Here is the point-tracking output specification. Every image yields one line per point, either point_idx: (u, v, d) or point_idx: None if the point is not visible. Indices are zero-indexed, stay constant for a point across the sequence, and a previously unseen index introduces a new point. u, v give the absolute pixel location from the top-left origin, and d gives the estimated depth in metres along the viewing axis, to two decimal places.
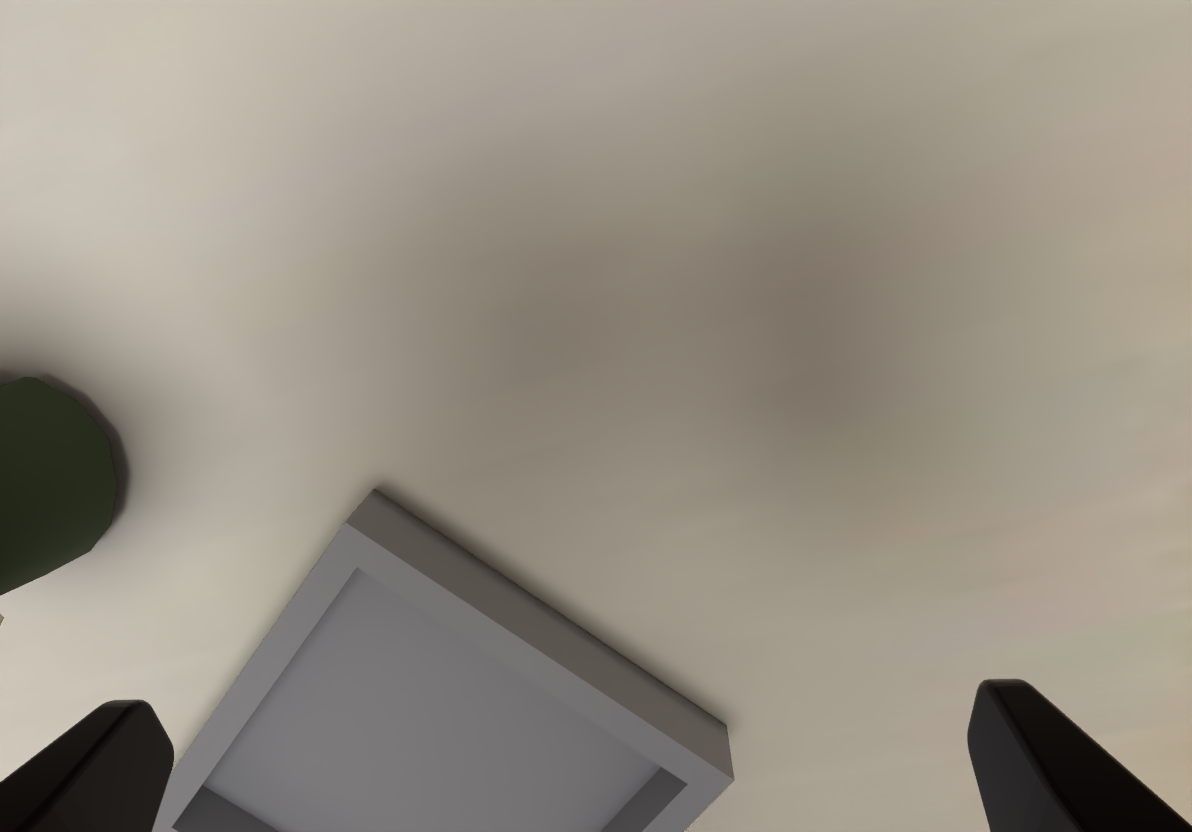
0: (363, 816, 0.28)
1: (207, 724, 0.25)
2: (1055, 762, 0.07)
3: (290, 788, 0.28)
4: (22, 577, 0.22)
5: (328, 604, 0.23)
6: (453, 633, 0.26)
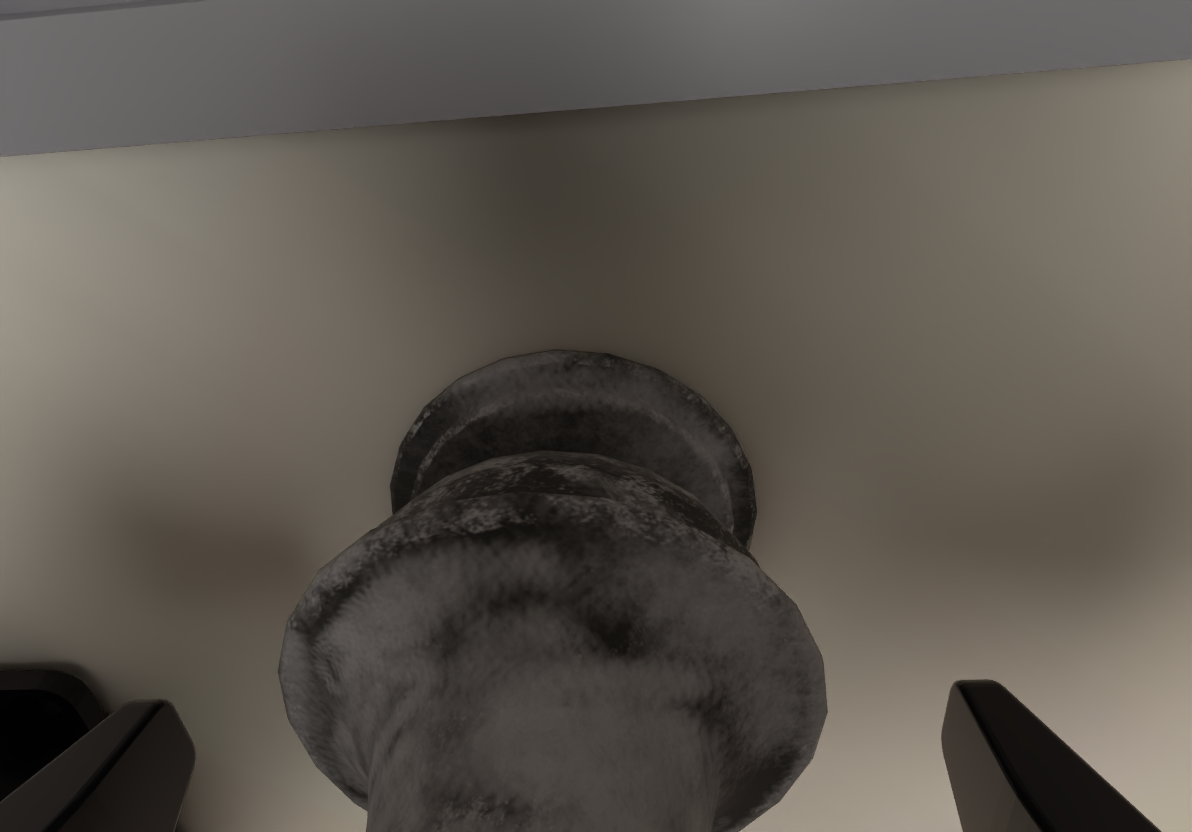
0: None
1: None
2: (1023, 763, 0.07)
3: None
4: None
5: None
6: None
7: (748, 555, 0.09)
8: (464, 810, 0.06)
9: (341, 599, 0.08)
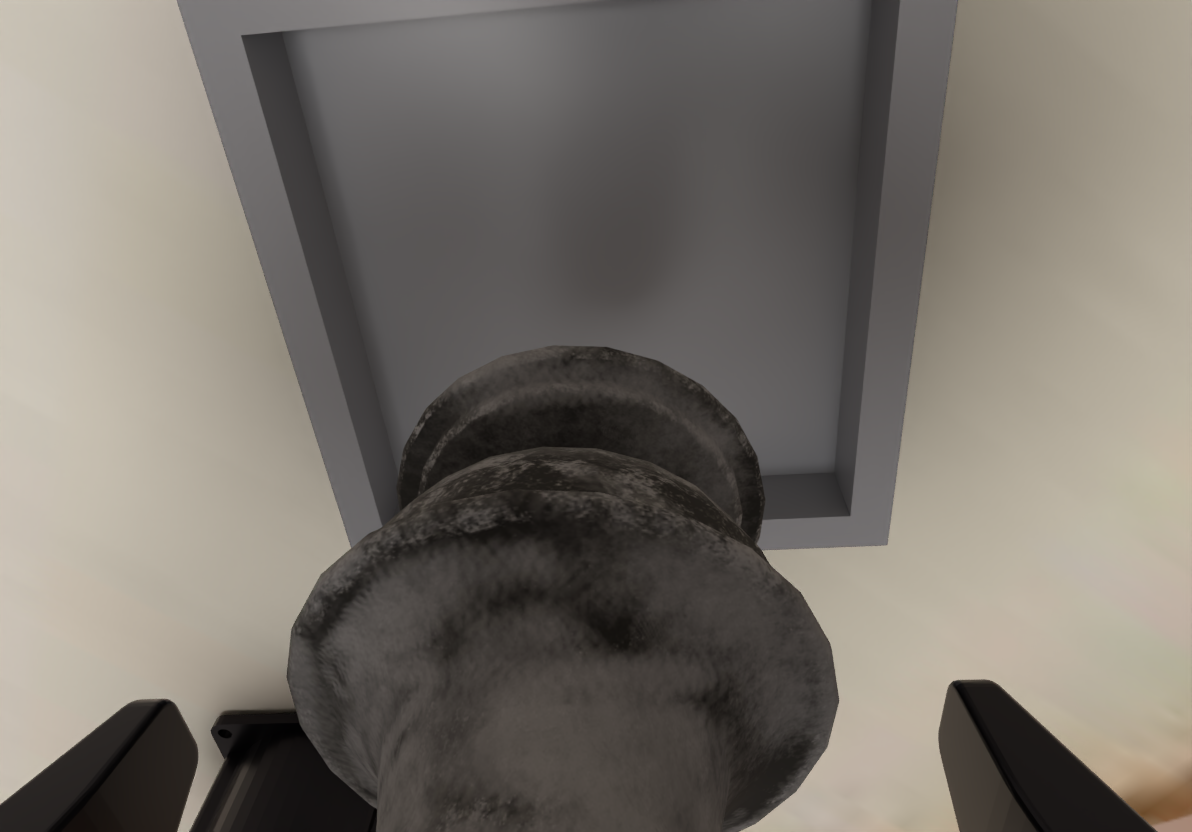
0: (444, 257, 0.19)
1: None
2: (1019, 763, 0.07)
3: (395, 144, 0.18)
4: None
5: None
6: (795, 166, 0.18)
7: (752, 544, 0.08)
8: (467, 810, 0.06)
9: (343, 603, 0.08)
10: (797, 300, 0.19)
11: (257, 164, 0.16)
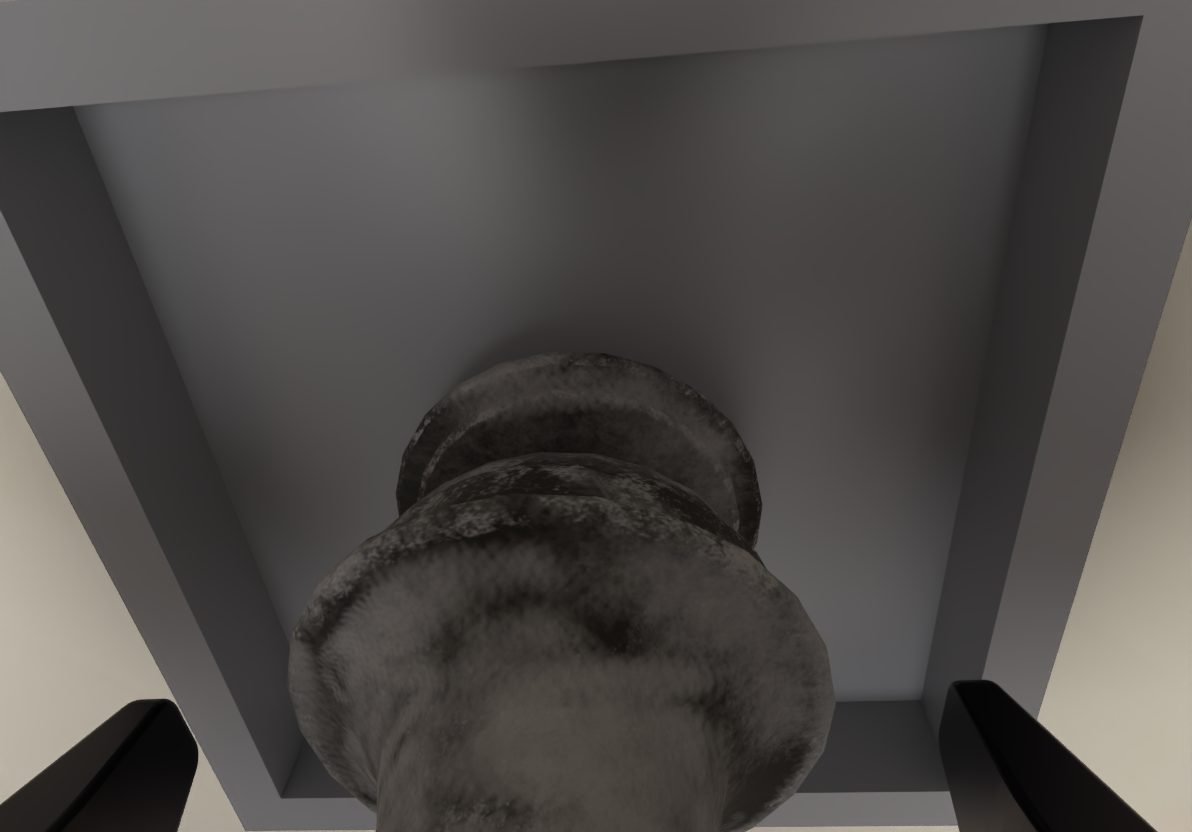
0: (354, 424, 0.13)
1: None
2: (1019, 763, 0.07)
3: (268, 267, 0.11)
4: None
5: (972, 24, 0.08)
6: (895, 305, 0.11)
7: (748, 548, 0.08)
8: (466, 812, 0.06)
9: (342, 608, 0.08)
10: (884, 488, 0.13)
11: (19, 319, 0.10)
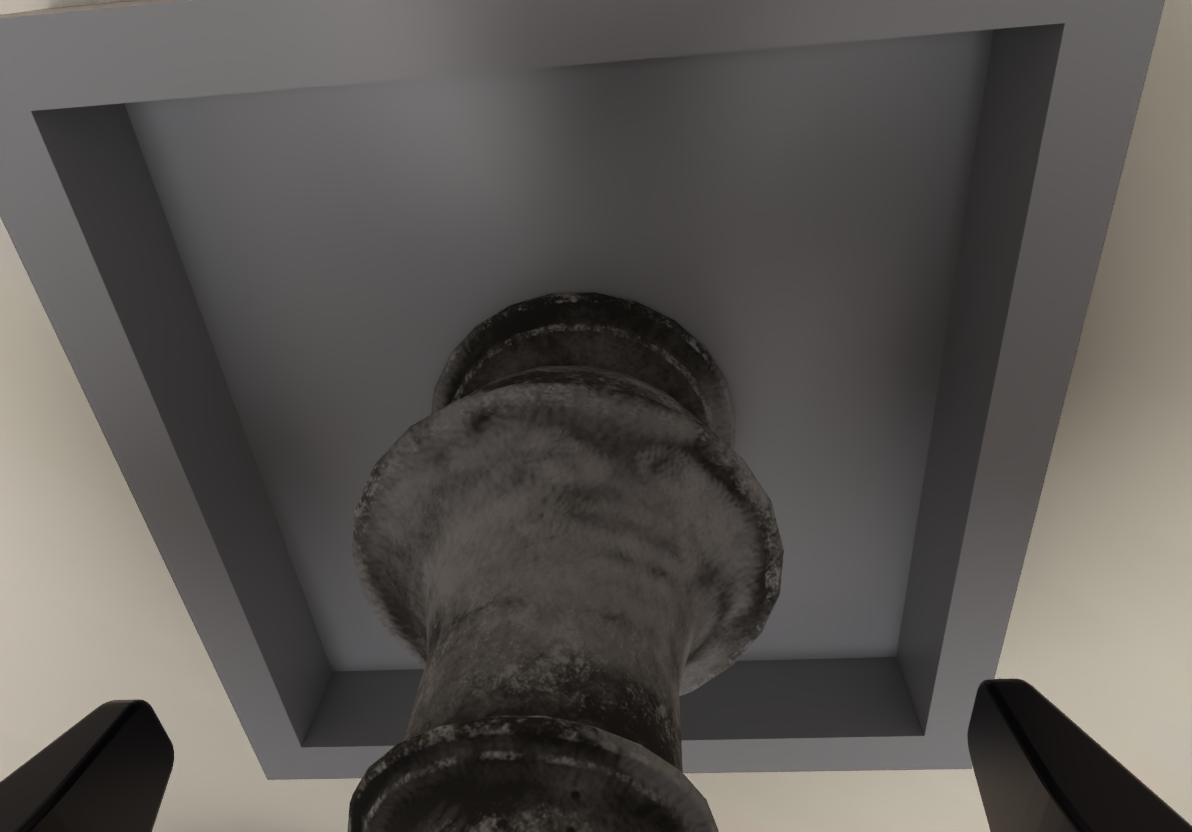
0: (372, 395, 0.14)
1: None
2: (1056, 762, 0.07)
3: (297, 249, 0.12)
4: None
5: (918, 31, 0.09)
6: (863, 283, 0.12)
7: None
8: (679, 682, 0.09)
9: (726, 483, 0.10)
10: (857, 454, 0.14)
11: (78, 293, 0.11)
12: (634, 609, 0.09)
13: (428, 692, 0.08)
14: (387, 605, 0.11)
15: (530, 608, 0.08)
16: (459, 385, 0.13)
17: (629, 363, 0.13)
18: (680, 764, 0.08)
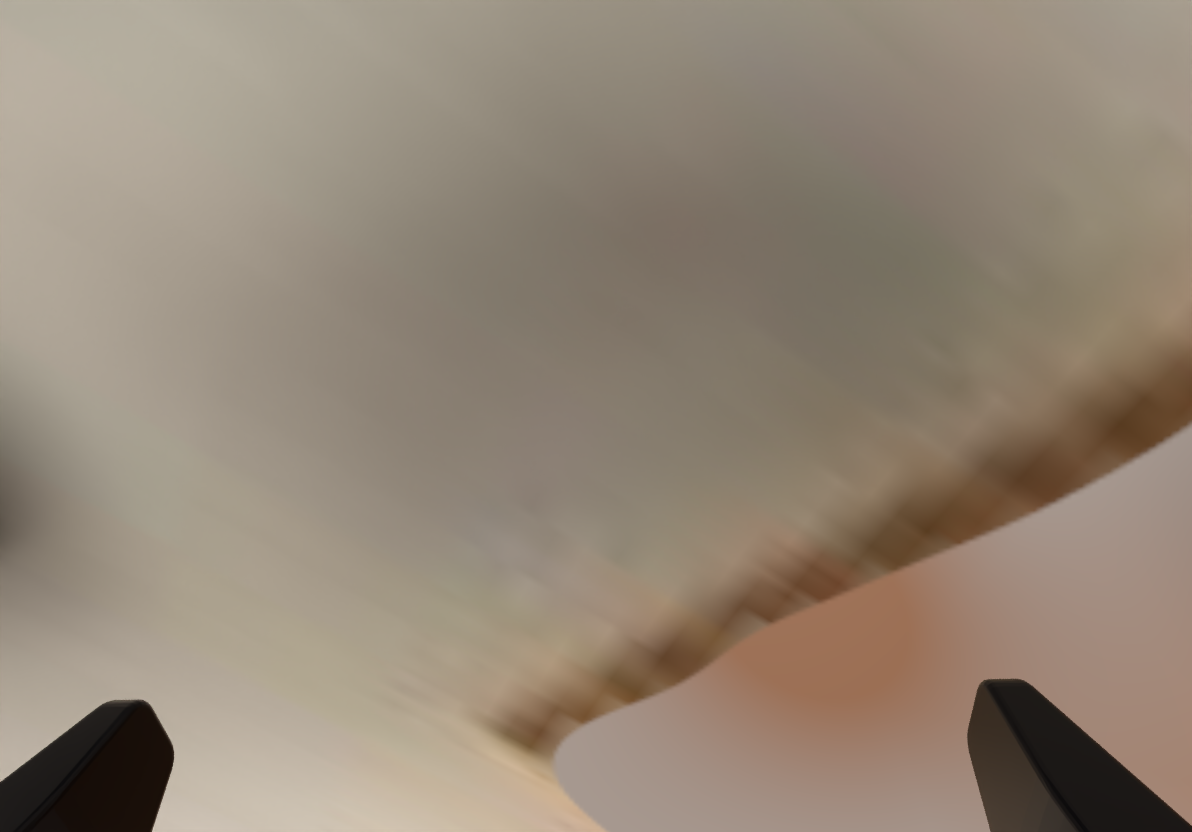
0: None
1: None
2: (1055, 762, 0.07)
3: None
4: None
5: None
6: None
7: None
8: None
9: None
10: None
11: None
12: None
13: None
14: None
15: None
16: None
17: None
18: None
